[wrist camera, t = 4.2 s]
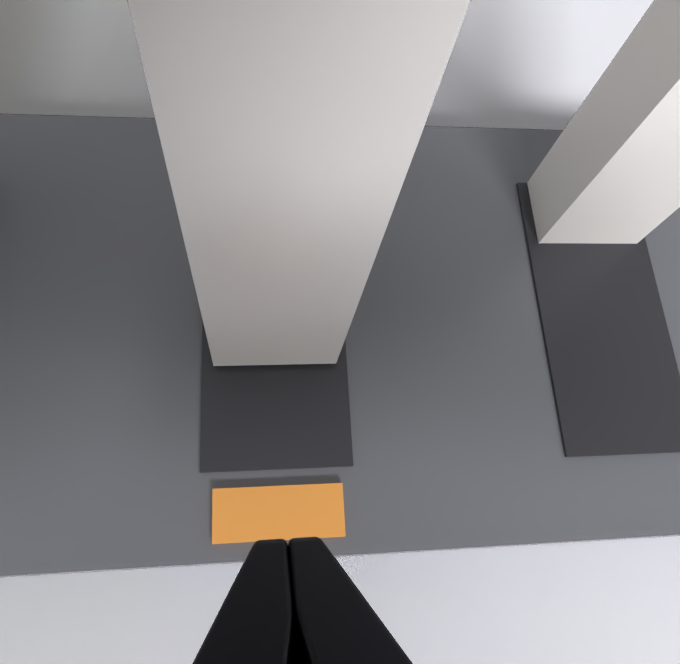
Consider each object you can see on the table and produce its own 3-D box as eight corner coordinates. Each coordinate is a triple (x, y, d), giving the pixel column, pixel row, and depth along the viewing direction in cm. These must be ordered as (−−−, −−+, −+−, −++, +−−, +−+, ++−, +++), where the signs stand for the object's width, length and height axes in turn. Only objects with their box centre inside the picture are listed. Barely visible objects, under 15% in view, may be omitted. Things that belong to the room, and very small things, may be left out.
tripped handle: (335, 363, 16) (506, -98, 5) (213, 366, 15) (96, -129, 4) (331, 289, 16) (473, -260, 5) (214, 291, 16) (115, -300, 5)
